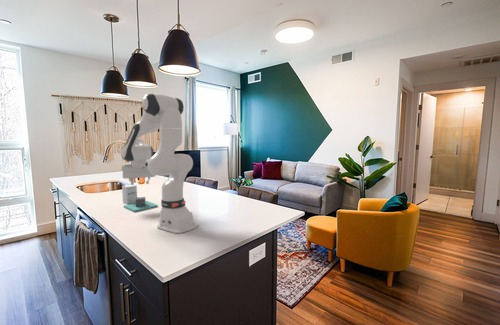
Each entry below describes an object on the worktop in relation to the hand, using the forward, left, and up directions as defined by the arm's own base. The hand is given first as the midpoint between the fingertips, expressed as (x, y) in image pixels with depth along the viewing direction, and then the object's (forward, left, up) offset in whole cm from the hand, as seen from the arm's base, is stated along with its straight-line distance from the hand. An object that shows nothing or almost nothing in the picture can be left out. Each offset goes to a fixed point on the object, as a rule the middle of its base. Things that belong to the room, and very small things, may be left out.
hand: (140, 184), depth 159 cm
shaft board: (0, 0, -16) cm, 16 cm away
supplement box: (+17, 0, -16) cm, 24 cm away
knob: (0, 0, -15) cm, 15 cm away
